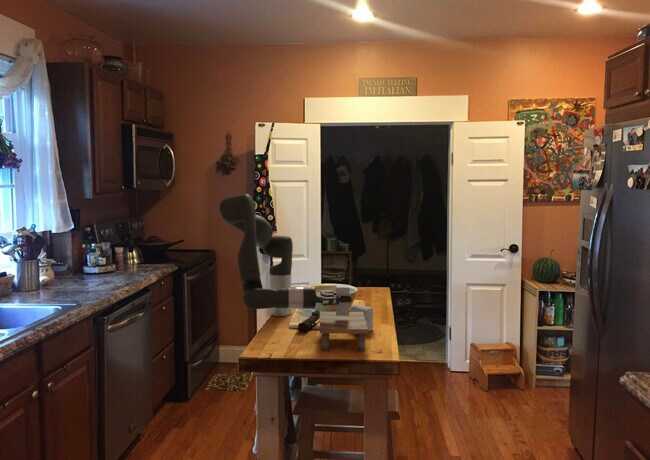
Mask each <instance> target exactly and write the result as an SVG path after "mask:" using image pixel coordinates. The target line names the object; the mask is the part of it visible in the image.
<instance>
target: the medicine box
mask: <svg viewBox="0 0 650 460" xmlns="http://www.w3.org/2000/svg"><path fill="white" fill-rule="evenodd" d="M350 312H363V314H364V317H365V321H366V324H367V328H368V332H370V331H373V330H374V308H373V307H370V306H366V305H361V304H356V305H352V306H350Z"/></svg>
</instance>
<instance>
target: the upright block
mask: <svg viewBox="0 0 650 460" xmlns="http://www.w3.org/2000/svg"><path fill="white" fill-rule="evenodd" d="M335 291H336V295H337V296H338V295H340V296H349V294H351V293H350V284H336V287H335ZM335 312H336V316H349V312H350V302H341V303H339V304H338V305H335Z"/></svg>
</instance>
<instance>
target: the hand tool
mask: <svg viewBox="0 0 650 460" xmlns="http://www.w3.org/2000/svg"><path fill="white" fill-rule="evenodd" d="M320 312H321V311H320V310H318V309H317V310H314V311H312V312H311V315H310V316H309V317H308V318H306V319H305V320H303V321H302V322H299V323H298V325H297V331H298V332H299V333H307V332H309V329H310V328H311V326H312V324H314V323H315V322H316V321H317V320H318V319H319V318H320ZM319 320H320V319H319ZM314 325H315V324H314ZM312 327H313V326H312Z"/></svg>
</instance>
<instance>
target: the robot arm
mask: <svg viewBox="0 0 650 460" xmlns="http://www.w3.org/2000/svg"><path fill="white" fill-rule="evenodd" d="M218 207H219V213H220V215H221V218H222V219H223V220H224V221H225V222H226V223H227V224H228V225H230V226H233V227H234V228H236V229H237V230H239V231H241V232H242V233H243V234H244V236H243V240H242V241H241V245H240V246H239V249H238V251H237V266H238V271H239V277H240V280H241V284H242V289H243V297H242V298H243V299H242V301H243V303H244V305H245V306H246V307H247V308H248V309H250V310H251V309H252V310H261V309H269V316H270V315H271V316H275V317H285V316H290V315H291V314H292V309H295V310H296V309H297V310H298V309H299V310H302V309H307V310H308V309H310V310H311V309H315V308H316V306H317V304H320V305H322V306H323V307H325V306H336V305H338V304H339V303H341V302H349V303H352V302H353V301H352V299H353V298H352V295H351V293H349V296H340V295H338V296H337V295H336V290H330V289H329V290H325V289H320V290H319V291H317V290H316V287H315V286H292V268H293V244H294V243H293V240H292V238H291V236H287V235H273V233H274V230H273V227H272V225H271V223H269V221H267V220H266V219H265V218H264V217H263V216H261V215H258V214H256V209H255V203H254V200H253V198H252V196H251V195H250V194H249V193H242V194H237V195H234V196H227V197H225V198H223V199H222V200H221V201H220V203H219V206H218ZM257 245H258V246H259V247H260V248H261V249H262V251H263V252H264V253H265V254H266V255H267V256H268V257H270V258H278V259H279V258H280V259H281V261H280V262H279V263H277V264H274V265H272V266H270V267H269V271H268V272H269V274H268V275H269V288H263V284H262V280H261V279H262V278H261V270H260V269H261V268H260V264H259V258H258V257H259V256H258V250H257V249H258V248H257ZM316 291H317V292H316Z"/></svg>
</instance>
